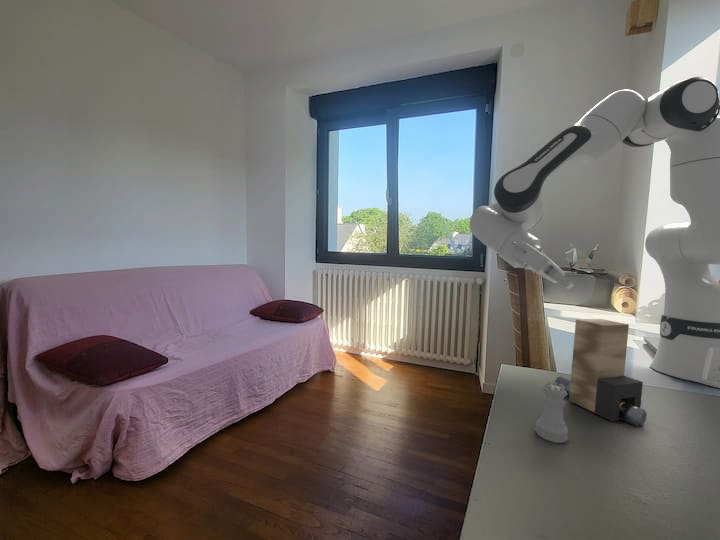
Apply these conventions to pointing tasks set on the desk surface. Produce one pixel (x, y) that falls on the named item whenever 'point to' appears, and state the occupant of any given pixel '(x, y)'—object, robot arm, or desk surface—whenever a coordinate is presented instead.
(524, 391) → the desk surface
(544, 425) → the rook chess piece
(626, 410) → the grey metal rod
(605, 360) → the tall wooden block
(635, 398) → the black block
